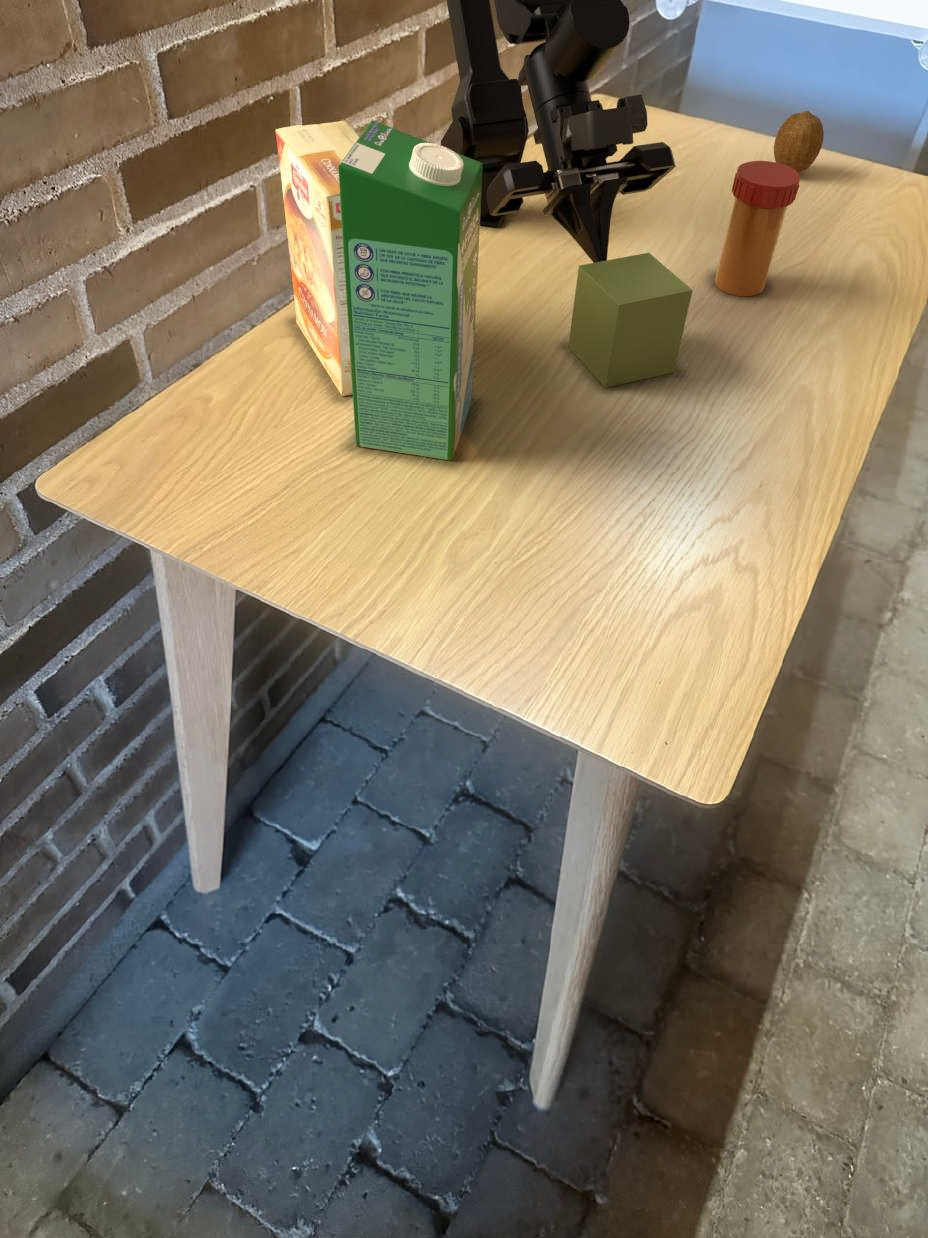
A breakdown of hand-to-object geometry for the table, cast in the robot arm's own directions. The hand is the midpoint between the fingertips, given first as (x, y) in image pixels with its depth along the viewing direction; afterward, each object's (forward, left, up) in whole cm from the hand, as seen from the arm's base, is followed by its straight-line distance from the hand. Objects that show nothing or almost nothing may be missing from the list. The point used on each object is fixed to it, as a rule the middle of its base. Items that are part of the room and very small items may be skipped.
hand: (601, 263), depth 94 cm
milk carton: (-13, -22, -8) cm, 26 cm away
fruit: (+20, +49, -8) cm, 54 cm away
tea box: (+4, -5, -8) cm, 10 cm away
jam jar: (+15, +15, -8) cm, 23 cm away
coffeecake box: (-23, -12, -8) cm, 27 cm away
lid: (+15, +15, +5) cm, 22 cm away
